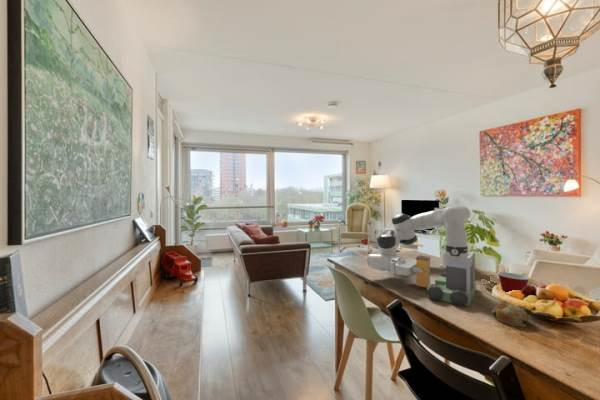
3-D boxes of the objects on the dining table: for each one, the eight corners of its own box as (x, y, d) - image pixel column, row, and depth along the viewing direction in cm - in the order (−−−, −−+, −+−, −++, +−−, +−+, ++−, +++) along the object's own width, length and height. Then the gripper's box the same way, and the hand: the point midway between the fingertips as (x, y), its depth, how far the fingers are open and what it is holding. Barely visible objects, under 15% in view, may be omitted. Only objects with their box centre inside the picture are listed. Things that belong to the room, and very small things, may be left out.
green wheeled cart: (440, 282, 140) (440, 245, 140) (476, 288, 130) (476, 249, 130) (425, 298, 118) (425, 255, 118) (468, 308, 108) (468, 260, 108)
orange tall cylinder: (419, 282, 136) (419, 255, 135) (430, 284, 132) (430, 256, 132) (416, 285, 132) (416, 257, 131) (427, 287, 128) (427, 258, 128)
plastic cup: (533, 303, 112) (533, 275, 112) (524, 310, 106) (524, 280, 106) (503, 295, 121) (503, 269, 121) (492, 301, 115) (492, 273, 115)
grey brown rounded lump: (513, 338, 92) (525, 321, 89) (484, 314, 101) (494, 298, 97) (527, 330, 97) (539, 314, 94) (498, 309, 105) (508, 293, 102)
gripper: (403, 266, 148) (430, 270, 139) (389, 275, 132) (419, 280, 124) (403, 255, 148) (430, 258, 139) (389, 262, 132) (419, 267, 124)
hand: (425, 269), depth 131 cm, fingers closed on orange tall cylinder, 5 cm apart
